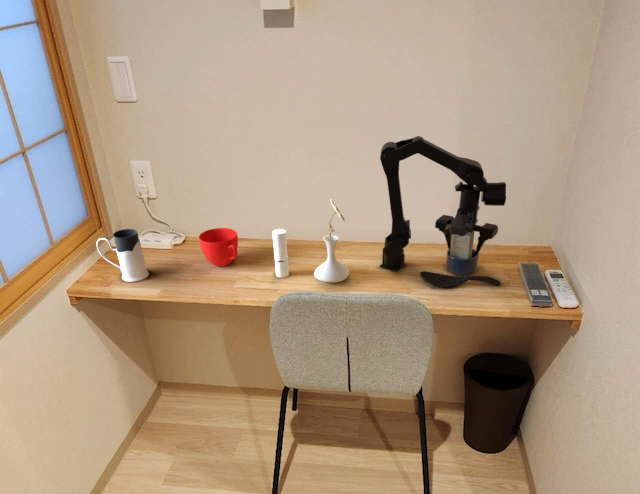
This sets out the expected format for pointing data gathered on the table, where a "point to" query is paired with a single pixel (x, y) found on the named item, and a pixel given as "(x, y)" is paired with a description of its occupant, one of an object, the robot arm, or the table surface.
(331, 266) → the flower in vase
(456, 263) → the crock
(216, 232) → the ceramic cup
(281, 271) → the tube
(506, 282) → the table surface
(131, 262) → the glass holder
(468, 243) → the cosmetic box
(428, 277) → the hairbrush
